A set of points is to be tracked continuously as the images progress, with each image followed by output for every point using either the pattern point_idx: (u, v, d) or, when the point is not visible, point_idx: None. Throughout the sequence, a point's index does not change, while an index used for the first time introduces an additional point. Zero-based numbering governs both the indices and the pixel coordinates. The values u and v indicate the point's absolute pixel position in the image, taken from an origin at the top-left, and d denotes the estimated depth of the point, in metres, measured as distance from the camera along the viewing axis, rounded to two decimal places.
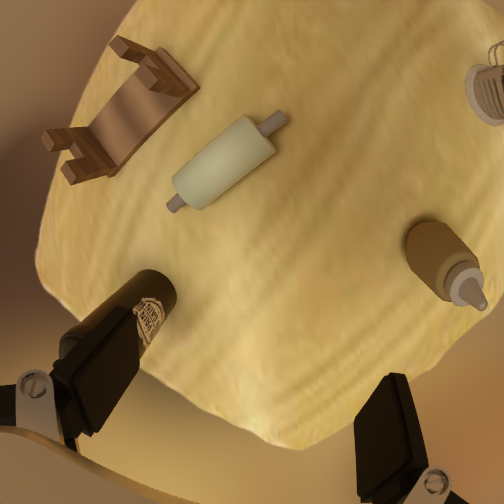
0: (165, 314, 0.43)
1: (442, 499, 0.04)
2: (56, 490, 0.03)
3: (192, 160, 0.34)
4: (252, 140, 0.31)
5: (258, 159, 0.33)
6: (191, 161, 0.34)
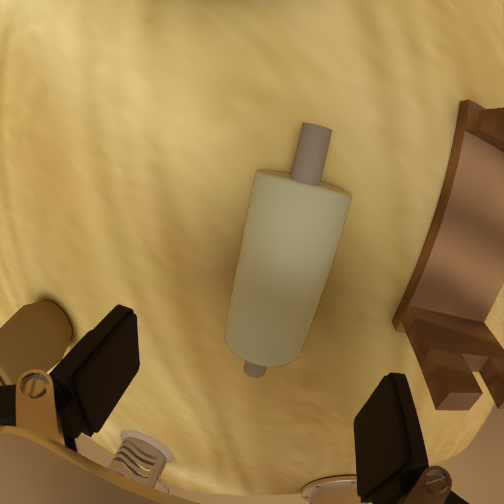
0: None
1: (442, 499, 0.04)
2: (56, 490, 0.03)
3: (330, 255, 0.17)
4: (254, 352, 0.19)
5: (230, 321, 0.20)
6: (331, 253, 0.17)
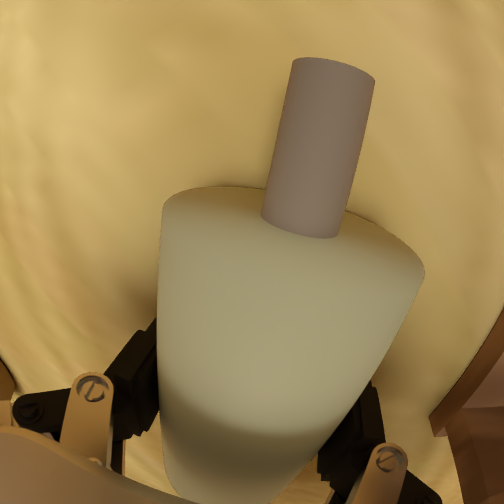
0: None
1: (402, 475, 0.05)
2: (56, 490, 0.03)
3: (354, 402, 0.06)
4: None
5: (164, 457, 0.09)
6: (356, 398, 0.06)
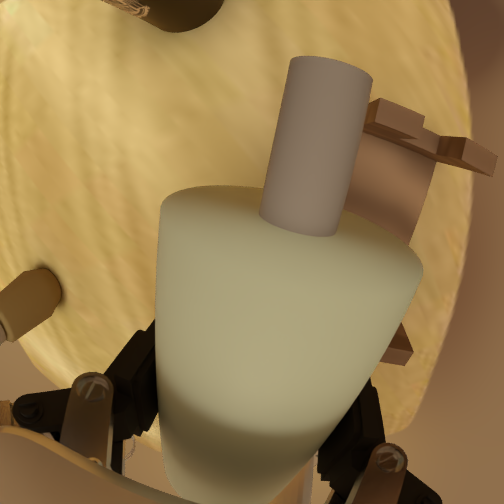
0: None
1: (402, 475, 0.05)
2: (56, 490, 0.03)
3: (353, 401, 0.06)
4: None
5: (163, 457, 0.09)
6: (355, 398, 0.06)
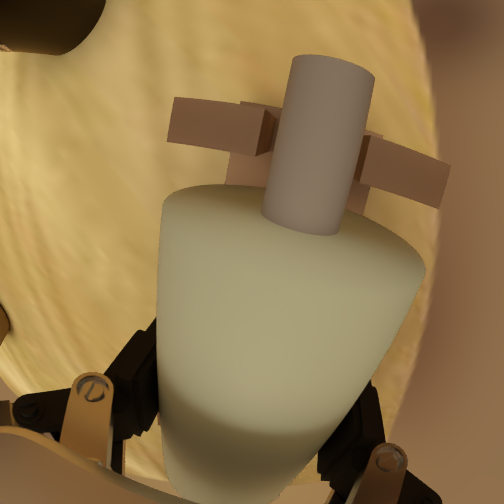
0: None
1: (402, 475, 0.05)
2: (56, 490, 0.03)
3: (355, 401, 0.06)
4: None
5: (164, 457, 0.09)
6: (357, 397, 0.06)
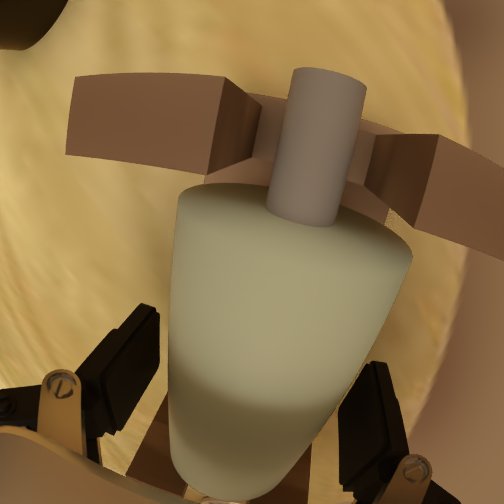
0: None
1: (425, 487, 0.05)
2: (56, 490, 0.03)
3: (351, 380, 0.07)
4: (210, 490, 0.09)
5: (171, 443, 0.10)
6: (354, 376, 0.07)
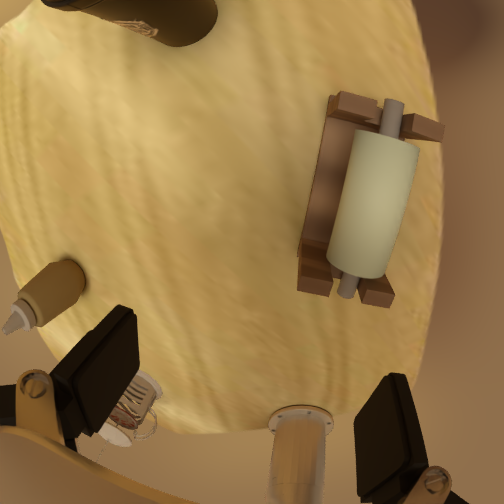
0: None
1: (443, 499, 0.04)
2: (56, 490, 0.03)
3: None
4: (381, 267, 0.24)
5: (360, 254, 0.23)
6: None
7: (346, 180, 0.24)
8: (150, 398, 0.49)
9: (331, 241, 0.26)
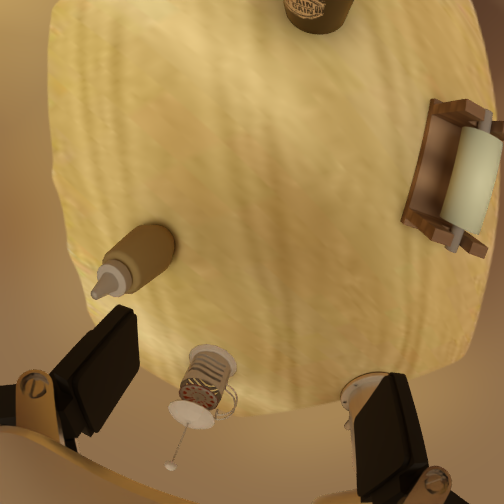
0: (287, 8, 0.26)
1: (442, 499, 0.04)
2: (56, 490, 0.03)
3: None
4: (480, 226, 0.27)
5: (471, 214, 0.26)
6: None
7: (459, 161, 0.27)
8: (227, 375, 0.51)
9: (447, 206, 0.29)
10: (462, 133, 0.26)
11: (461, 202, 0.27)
